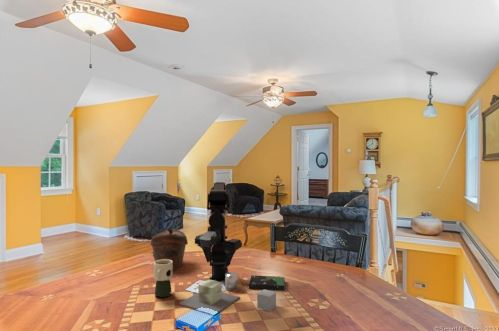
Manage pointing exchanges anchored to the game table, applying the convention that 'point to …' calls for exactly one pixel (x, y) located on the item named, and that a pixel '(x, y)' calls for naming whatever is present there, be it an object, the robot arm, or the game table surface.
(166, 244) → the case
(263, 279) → the disk drive
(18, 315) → the game table surface
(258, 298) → the slate block
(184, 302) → the mat
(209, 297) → the sage block
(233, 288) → the metal tin
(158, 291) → the character mug
